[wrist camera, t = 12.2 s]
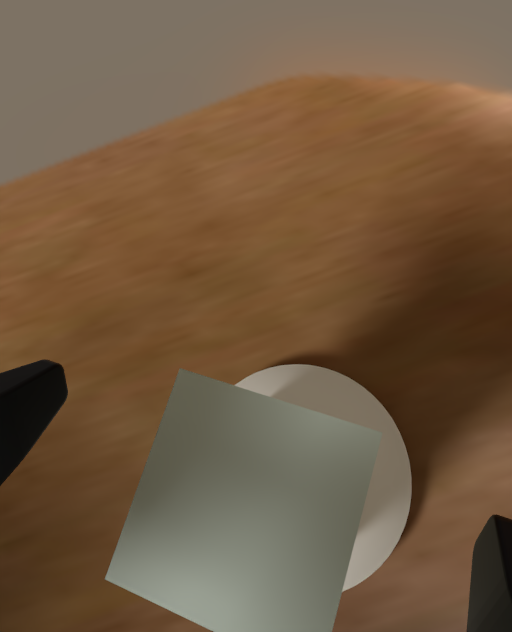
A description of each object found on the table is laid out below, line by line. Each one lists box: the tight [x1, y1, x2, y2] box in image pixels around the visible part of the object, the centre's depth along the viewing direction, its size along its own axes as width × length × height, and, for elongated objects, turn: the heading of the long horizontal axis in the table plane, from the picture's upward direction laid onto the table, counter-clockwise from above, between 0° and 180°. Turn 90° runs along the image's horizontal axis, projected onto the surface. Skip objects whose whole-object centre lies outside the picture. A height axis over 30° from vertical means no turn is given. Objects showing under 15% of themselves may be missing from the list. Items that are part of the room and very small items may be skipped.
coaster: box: [234, 364, 412, 592], centre depth 21 cm, size 10×10×1 cm
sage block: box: [105, 368, 382, 632], centre depth 15 cm, size 5×5×11 cm
